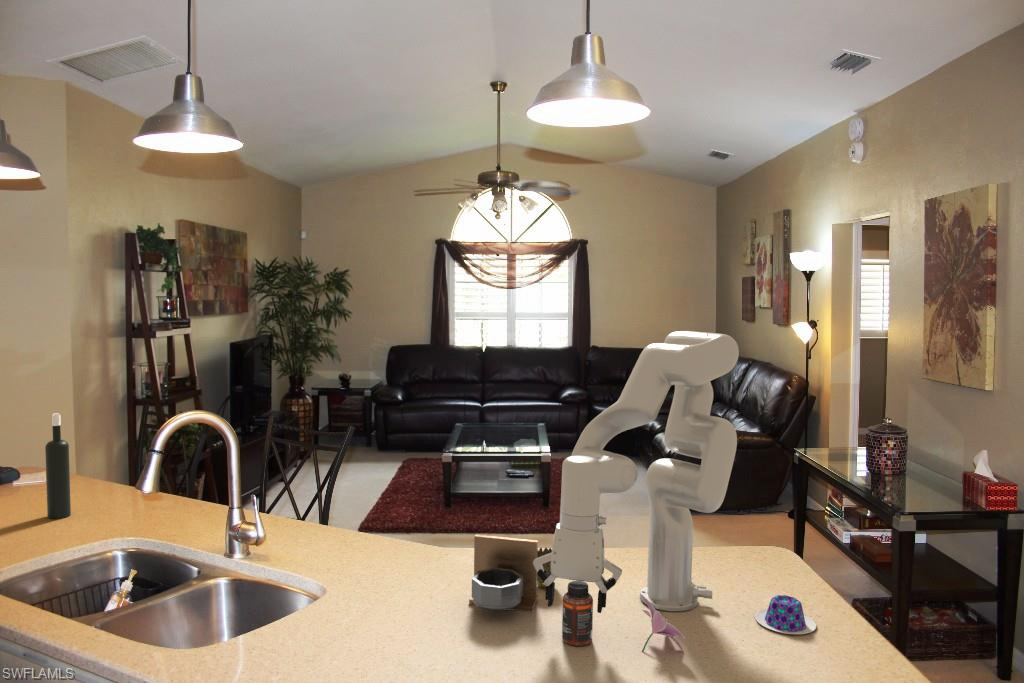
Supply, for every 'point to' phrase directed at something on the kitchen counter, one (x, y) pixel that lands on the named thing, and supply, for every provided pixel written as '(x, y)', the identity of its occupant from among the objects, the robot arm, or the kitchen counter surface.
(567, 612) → the supplement bottle
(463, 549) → the kitchen counter surface
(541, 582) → the cup
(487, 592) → the cup bracket
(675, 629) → the lily
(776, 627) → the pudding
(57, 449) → the wine bottle
